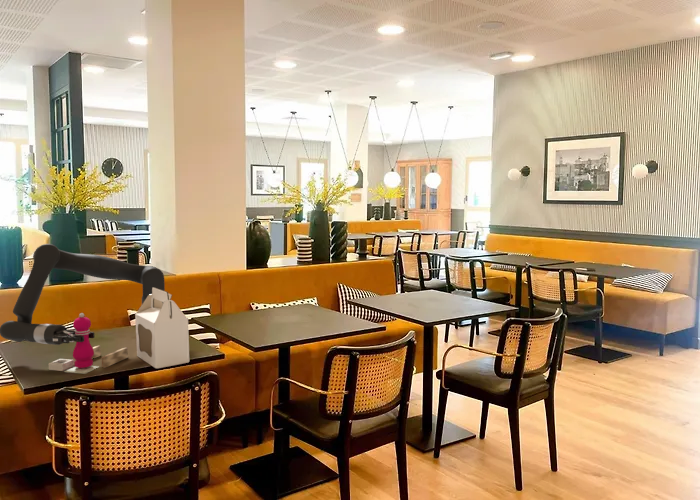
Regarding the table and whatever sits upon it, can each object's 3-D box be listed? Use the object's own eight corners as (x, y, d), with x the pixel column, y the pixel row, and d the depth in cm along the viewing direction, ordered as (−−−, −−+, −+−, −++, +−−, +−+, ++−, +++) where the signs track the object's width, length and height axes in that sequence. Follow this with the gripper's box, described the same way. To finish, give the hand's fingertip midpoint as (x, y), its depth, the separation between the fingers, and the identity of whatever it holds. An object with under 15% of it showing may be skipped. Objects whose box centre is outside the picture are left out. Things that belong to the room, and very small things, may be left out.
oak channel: (97, 355, 234) (97, 345, 234) (127, 357, 231) (127, 347, 230) (73, 365, 221) (73, 355, 220) (105, 367, 217) (104, 357, 217)
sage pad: (79, 365, 220) (79, 364, 220) (99, 367, 218) (99, 366, 218) (64, 372, 212) (64, 371, 212) (85, 373, 210) (85, 372, 210)
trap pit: (60, 365, 221) (60, 358, 221) (73, 366, 219) (73, 359, 219) (48, 369, 215) (48, 363, 215) (62, 370, 214) (62, 364, 213)
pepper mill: (77, 362, 220) (75, 311, 218) (97, 362, 220) (95, 310, 218) (70, 368, 213) (67, 315, 211) (90, 368, 213) (88, 315, 211)
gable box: (189, 362, 224) (187, 291, 221) (156, 369, 215) (153, 295, 213) (168, 350, 241) (166, 284, 238) (136, 356, 233) (133, 287, 230)
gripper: (35, 328, 211) (74, 331, 207) (63, 320, 225) (101, 322, 221) (36, 348, 212) (75, 352, 208) (64, 339, 226) (101, 342, 222)
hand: (88, 337), depth 215 cm, fingers closed on pepper mill, 5 cm apart
